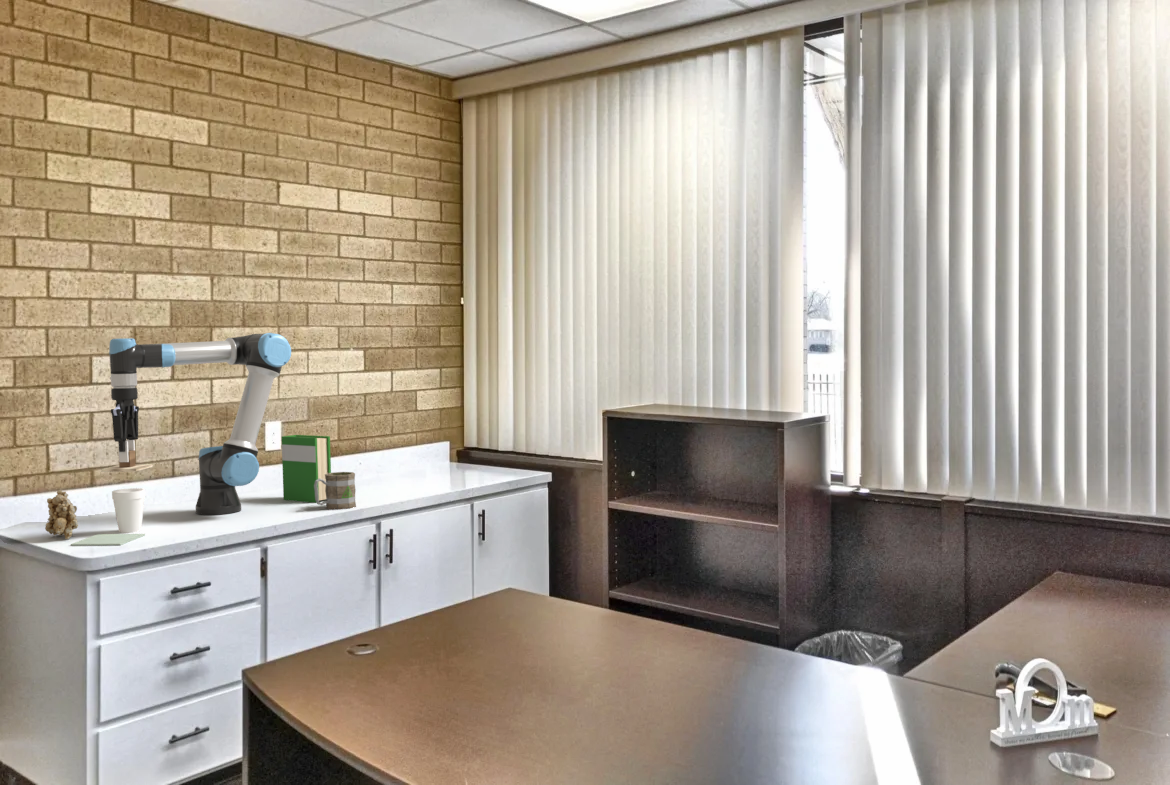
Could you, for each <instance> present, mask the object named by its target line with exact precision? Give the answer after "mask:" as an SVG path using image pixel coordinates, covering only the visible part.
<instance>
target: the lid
mask: <svg viewBox="0 0 1170 785" xmlns="http://www.w3.org/2000/svg"><path fill="white" fill-rule="evenodd" d="M128 454H129V462H119V461H118V464H116V465H114V466H110V467H104V468H102V469H100V470H101V472H102V473H103V472H105V473H106V472H107V473H108V472H109V473H110V472H114V473H116V472H119V473H120V472H139V471H142V470H146V469H149V468H153V467H154V464H153V463H152V464H151V463H150V464H149V463H148V464H147V463H146V464H141V463H139V464H136V462H137V461H136V449H135V450H128Z"/></svg>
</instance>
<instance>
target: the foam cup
mask: <svg viewBox="0 0 1170 785" xmlns="http://www.w3.org/2000/svg"><path fill="white" fill-rule="evenodd" d="M145 497H146V489H145V488H143V487H142V488H141V487H140V488H139V487H138V488H137V487H136V488H135V487H131V488H121V489H114V490H113V491H111V498H112V501H113V505H114V506H113V507H114V513H115V517H116V522H117V527H118V532H119V534H134V533H137V532H140V531H142V527H143V517H144V505H145Z"/></svg>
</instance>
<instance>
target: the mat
mask: <svg viewBox="0 0 1170 785" xmlns="http://www.w3.org/2000/svg"><path fill="white" fill-rule="evenodd" d="M145 536H146V533H99V534H98V533H97V534H94V535H91V536H89V537H86V538H84V539H81V540H78V541H75V542H73V543H70V547H81V546H82V547H86V546H87V547H88V546H91V547H94V546H101V547H102V546H105V547H106V546H123V545H125V544H127V543H130V542H132V541H135V540H137V539H139V538H142V537H145Z"/></svg>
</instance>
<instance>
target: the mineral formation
mask: <svg viewBox="0 0 1170 785" xmlns="http://www.w3.org/2000/svg"><path fill="white" fill-rule="evenodd" d="M68 497H69V494H68V493H67V491H62V490H61V489H58V490H57V491H56V495H55V496H54V497H52V498H50V497H48V498H47V499H46V502H47V508H48V515H49V517H48V518H47V522H46V523H45V528H44V529H45V531H46V532H47V533H49V534H50V535H53V536H56V535H58V536H64V539H65V540H69V539H70V538H71V537H72V535H73V530H76V529H78V527H79V523H78V519H77V514H75V513H77V510H78V506H77V505H74V504H73V503H72V502H71V499H69V498H68Z"/></svg>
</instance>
